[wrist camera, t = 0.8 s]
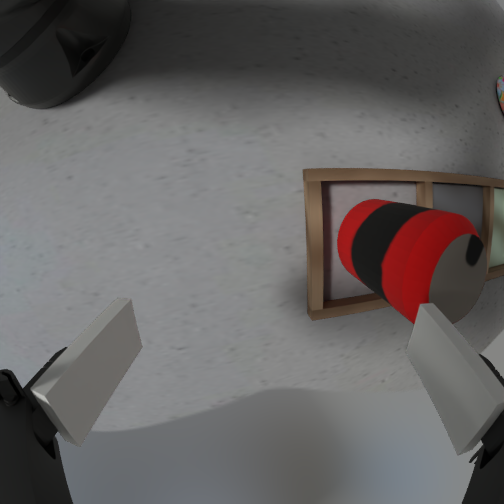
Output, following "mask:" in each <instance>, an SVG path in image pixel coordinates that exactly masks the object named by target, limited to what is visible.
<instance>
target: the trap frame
mask: <svg viewBox="0 0 504 504" xmlns="http://www.w3.org/2000/svg"><path fill="white" fill-rule="evenodd" d="M303 180H304V196H305V216H306V241H307V293H308V315H309V317H310V318H311V320H312V321H313V320H319V319H325V318H331V317H337V316H343V315H348V314H354V313H359V312H364V311H369V310H374V309H379V308H384V307H389V306H391V305H390V304H389V303H387V302H386V301H385V300H384V299H382V298H381V297H380V296H379V295H377V294H376V293H372V294H367V295H361V296H355V297H349V298H343V299H337V300H330V301H323V219H322V195H321V181H337V180H395V181H416V190H417V206H421V207H426V208H432V209H437V210H442V211H447V212H452V213H456V214H460V215H463V216H464V217H466V218H467V219H469V221H470V222H471V223H472V224H473V226H474V227H475V229H476V231H477V233H478V236H479V238H480V240H481V241H482V243H483V245H484V247H485V250H486V254H487V273H486V278H485V281H488V280H491V279H494V278H497V277H500V276H503V275H504V189H498V188H494V187H501V188H504V180H500V179H494V178H487V177H479V176H471V175H463V174H453V173H443V172H431V171H416V170H398V169H369V168H318V169H303ZM432 182H444V183H459V184H472V185H482V187H477V186H464V185H449V184H432Z"/></svg>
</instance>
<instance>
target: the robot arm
mask: <svg viewBox="0 0 504 504" xmlns="http://www.w3.org/2000/svg"><path fill="white" fill-rule="evenodd" d="M130 21H131V10H130V6H129V4H128V2H127V0H0V86H1V87H2V88H3V89H4V91H5V93H6V94H7V95H8V97H9V98H10V99H11V100H12V101H14V102H16V103H17V104H20V105H23V106H26V107H30V108H33V109H44V108H49V107H53V106H56V105H58V104H60V103H62V102H64V101H66V100H68V99H70V98H71V97H73V96H75V95H76V94H77V93H79V92H80V91H82V90H83V89H84V88H85V87H87V86H88V85H89V84H90V83H91V82H92V81H93V80H94V79H95V78H96V77H97V76H99V74H100V73H101V72H102V71H103V70H104V69H105V68H106V67H107V65H108V64H109V63H110V62H111V60H112V59H113V58H114V56H115V55H116V53H117V52H118V50H119V49H120V47H121V45H122V43H123V41H124V39H125V37H126V35H127V32H128V29H129V26H130ZM141 349H142V343H141V339H140V335H139V331H138V327H137V323H136V319H135V314H134V310H133V305H132V300H131V299H125V298H117V299H116V300H115V301H114V302H113V303H112V304H111V305H110V306H109V307H108V308H106V309H105V310H104V311H103V312H102V313H101V314H100V315H99V316H98V317H97V318H96V319H95V320H94V321H93V322H92V323H91V324H90V325H89V326H88V327H87V328H86V329H85V330H84V331H83V332H82V333H81V334H80V335H79V336H78V337H77V338H76V339H75V340H74V342H73V343H72V344H71V345H70V346H69V347H65V348H63V349H62V350H60V351H58V352H57V353H55V354H54V356H53V357H52V358H51V359H50V360H49V362H47V363H46V364H45V365H44V366H43V368H41V369H40V370H39V371H38V373H37V374H36V375H35V376H34V377H33V378H32V379H31V380H30V381H29V382H28V383H27V385H26V386H25V387H24V388H23V389H22V387H21V385H20V383H19V382H18V380H17V378H16V376H15V375H14V373H13V372H12V371H11V370H8V369H2V370H0V504H73V502H72V499H71V495H70V492H69V488H68V485H67V481H66V478H65V473H64V469H63V465H62V460H61V456H60V451H59V445H58V441H57V439H56V437H55V434H56V433H57V431H58V432H59V433H60V435H61V436H62V437H63V438H64V440H66V441H67V442H70V443H72V444H74V445H76V446H79V447H81V445H82V443H83V441H84V440H85V438H86V436H87V435H88V433H89V431H90V430H91V428H92V426H93V425H94V423H95V421H96V420H97V418H98V416H99V415H100V413H101V412H102V410H103V408H104V407H105V405H106V403H107V402H108V400H109V399H110V397H111V395H112V394H113V392H114V391H115V389H116V388H117V386H118V384H119V383H120V381H121V380H122V378H123V377H124V375H125V373H126V372H127V370H128V369H129V367H130V366H131V364H132V363H133V361H134V360H135V358H136V356H137V355H138V353H139V352H140V350H141ZM406 354H407V356H408V357H409V359H410V361H411V363H412V364H413V366H414V368H415V370H416V372H417V373H418V375H419V377H420V379H421V381H422V383H423V385H424V386H425V388H426V390H427V392H428V394H429V396H430V398H431V400H432V402H433V404H434V406H435V408H436V410H437V412H438V414H439V416H440V418H441V420H442V422H443V424H444V426H445V428H446V430H447V433H448V435H449V437H450V439H451V441H452V444H453V446H454V448H455V451H456V453H457V455H461V454H463V453H465V452H467V451H470V450H472V449H473V448H474V447H475V446H476V445H477V444H478V442H479V441H480V440H481V441H482V443H483V445H482V447H481V448H480V449H479V450H478V451H477V452H476V453H475V454H474V456H473V457H472V458H471V459H470V461H469V463H471V462H472V461H473V460H474V459H475V458H476V457H477V456H478V457H477V460H476V462H475V463H474V464H475V467H474V471H473V474H472V477H471V480H470V483H469V486H468V488H467V491H466V494H465V497H464V499H463V501H462V504H504V379H503V378H502V376H500V374H499V372H498V371H497V370H495V367H494V366H493V365H492V363H491V362H490V361H489V360H488V359H487V358H485V357H484V356H482V355H481V354H478V353H477V352H476V351H475V350H474V349H473V347H472V346H471V345H470V344H469V343H468V341H467V340H466V339H465V338H464V337H463V336H462V335H461V333H460V332H459V331H458V330H457V329H456V328H455V327H454V325H453V324H452V323H451V322H450V321H449V320H448V319H447V318H446V317H445V315H444V314H443V313H442V312H441V311H440V310H439V309H438V308H437V307H436V306H435V305H434V304H433V303H426V304H420V306H419V310H418V313H417V317H416V321H415V324H414V327H413V331H412V334H411V337H410V340H409V343H408V346H407V349H406Z"/></svg>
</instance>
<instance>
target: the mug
mask: <svg viewBox="0 0 504 504" xmlns="http://www.w3.org/2000/svg"><path fill="white" fill-rule="evenodd" d="M497 94H498V99H499V102H500V105H501V108H502V111H503V113H504V76H500V77H499V78H498V80H497Z"/></svg>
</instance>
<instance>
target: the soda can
mask: <svg viewBox="0 0 504 504" xmlns="http://www.w3.org/2000/svg"><path fill="white" fill-rule="evenodd" d="M337 246H338V253H339V257H340V260H341V262H342V264H343V266H344V267H345V268H346V270H347V271H348V272H349V273H351V274H352V275H353V276H354V277H356V278H357V279H358V280H359V281H361V282H362V283H363V284H365V285H366V286H367V287H368V288H370V289H371V290H372V291H374V292H375V293H376V294H377V295H379V296H380V297H381V298H382V299H384V300H385V301H386V302H387V303H389V304H390V305H391V306H392V307H394V308H395V309H396V310H397V311H398V312H400V313H401V314H402V315H403V316H405V317H406V318H407V319H408V320H409V321H411V322H412V323H413V324H415V321H416V317H417V313H418V310H419V306H420V304H426V303H433V304H434V305H435V306H436V307H437V308H438V309H439V310H440V311H441V312H442V313H443V314H444V315H445V317H446V318H447V319H448V320H449V321H450V322H451V323H452V324H453V323H455V322H457V321H459V320H460V319H462V318H463V317H464V316H465V315H466V314H467V313H468V312H469V311H470V310H471V309H472V307H473V306H474V304H475V303H476V301H477V300H478V298H479V296H480V294H481V291H482V288H483V286H484V282H485V278H486V273H487V254H486V250H485V247H484V245H483V243H482V241H481V240H480V238H479V236H478V233H477V231H476V229H475V227H474V226H473V224H472V223H471V222H470V221H469V219H467V218H466V217H464V216H463V215H460V214H456V213H452V212H447V211H442V210H437V209H432V208H426V207H421V206H415V205H410V204H404V203H398V202H392V201H385V200H379V199H371V200H366V201H363V202H361V203H359V204H358V205H356V206H355V207H354V208H352V209H351V210H350V211H349V213H348V214H347V215H346V216H345V218H344V220H343V222H342V224H341V227H340V230H339V233H338V240H337Z"/></svg>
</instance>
